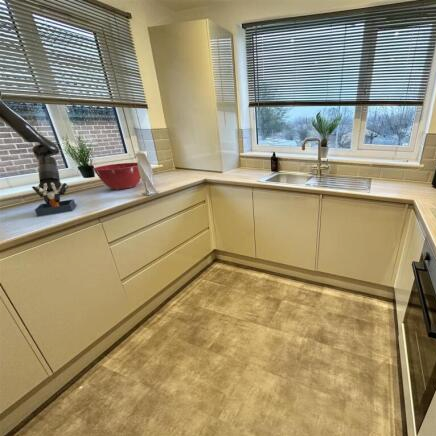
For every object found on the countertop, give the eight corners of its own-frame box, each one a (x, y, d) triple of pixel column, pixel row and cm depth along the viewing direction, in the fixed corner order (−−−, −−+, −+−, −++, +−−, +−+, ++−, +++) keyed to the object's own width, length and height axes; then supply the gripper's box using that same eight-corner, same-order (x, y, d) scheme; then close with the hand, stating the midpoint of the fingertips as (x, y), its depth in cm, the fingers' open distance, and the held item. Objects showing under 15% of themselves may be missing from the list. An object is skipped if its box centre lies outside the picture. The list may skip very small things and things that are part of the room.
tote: (38, 218, 117) (34, 209, 116) (44, 211, 126) (40, 203, 124) (72, 212, 124) (69, 204, 122) (76, 206, 132) (73, 199, 131)
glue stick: (51, 210, 123) (44, 194, 119) (55, 208, 125) (49, 193, 122) (58, 210, 123) (51, 194, 120) (62, 208, 126) (55, 192, 122)
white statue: (141, 194, 152) (128, 149, 142) (153, 191, 159) (142, 147, 148) (147, 196, 148) (135, 149, 137) (160, 193, 154) (149, 148, 144)
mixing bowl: (90, 191, 162) (81, 168, 157) (127, 181, 188) (121, 161, 182) (121, 194, 154) (113, 170, 149) (156, 183, 180) (151, 162, 174)
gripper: (26, 171, 119) (29, 201, 114) (63, 168, 126) (67, 196, 121) (34, 180, 125) (37, 208, 120) (69, 176, 132) (73, 203, 127)
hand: (52, 202), depth 121 cm, fingers closed on glue stick, 3 cm apart
